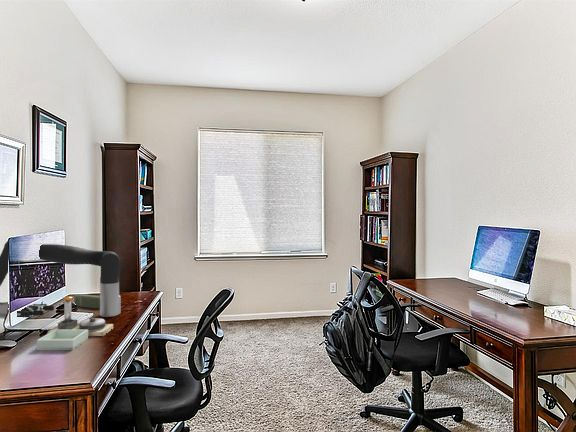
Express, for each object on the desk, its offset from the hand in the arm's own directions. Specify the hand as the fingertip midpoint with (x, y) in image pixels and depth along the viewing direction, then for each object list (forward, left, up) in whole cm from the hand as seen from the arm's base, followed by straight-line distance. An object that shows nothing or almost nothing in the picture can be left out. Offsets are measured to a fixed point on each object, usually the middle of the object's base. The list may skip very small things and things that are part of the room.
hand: (48, 310), depth 184 cm
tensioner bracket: (-8, +12, -10) cm, 18 cm away
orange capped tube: (-5, +7, -8) cm, 12 cm away
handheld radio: (-38, -26, -11) cm, 47 cm away
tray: (+5, +21, -10) cm, 24 cm away
